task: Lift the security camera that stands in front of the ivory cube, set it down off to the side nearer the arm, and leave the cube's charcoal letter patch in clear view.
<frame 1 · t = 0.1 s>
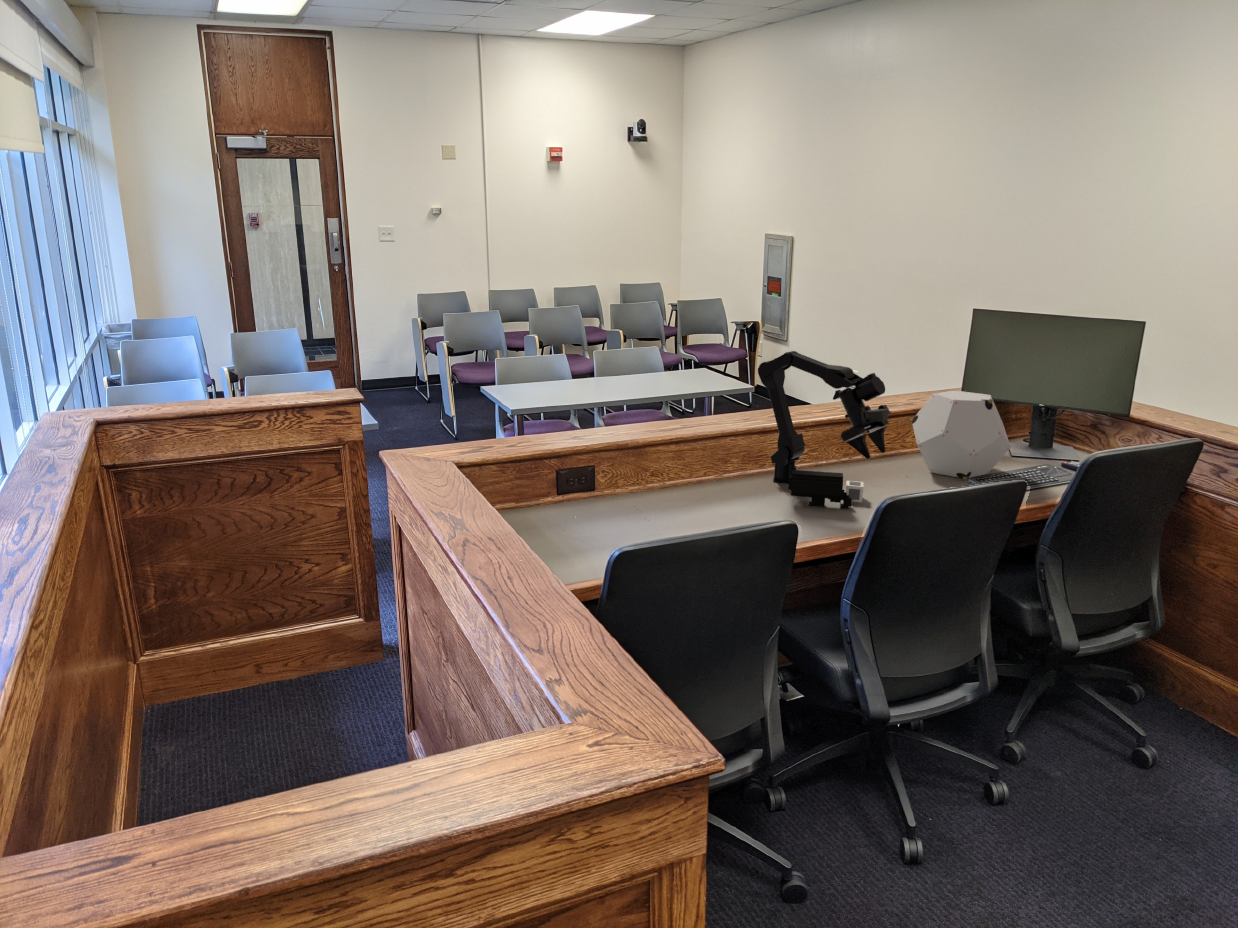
hand: (876, 455, 259), 15 cm above the table, tool tilted 30°, fingers open, 9 cm apart
geometric sculpture: (955, 471, 295), on the table
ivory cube: (853, 499, 267), on the table
security camera: (818, 506, 261), on the table
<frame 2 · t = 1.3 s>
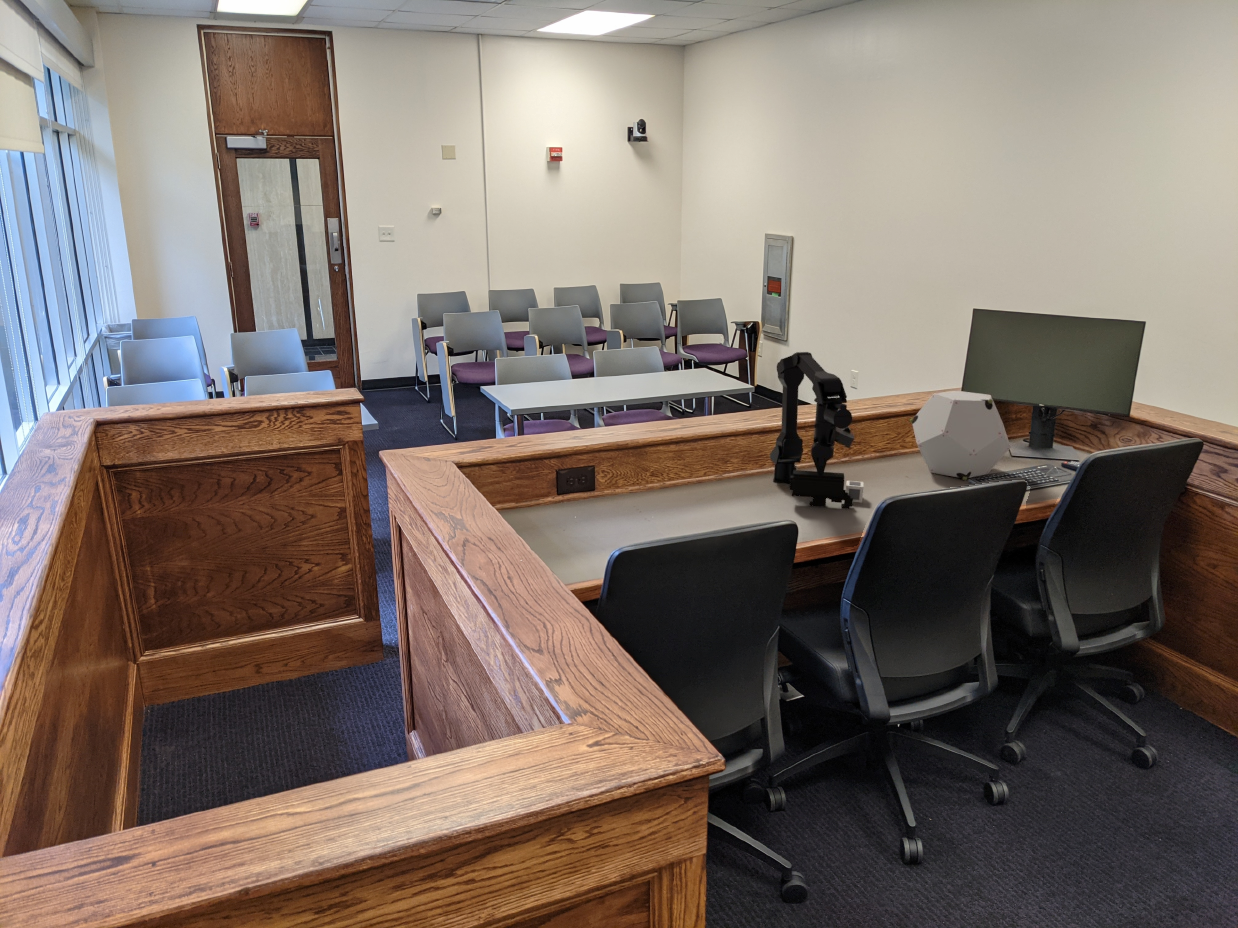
hand: (821, 471, 258), 11 cm above the table, tool pointing down, fingers open, 9 cm apart
nothing on the table moved.
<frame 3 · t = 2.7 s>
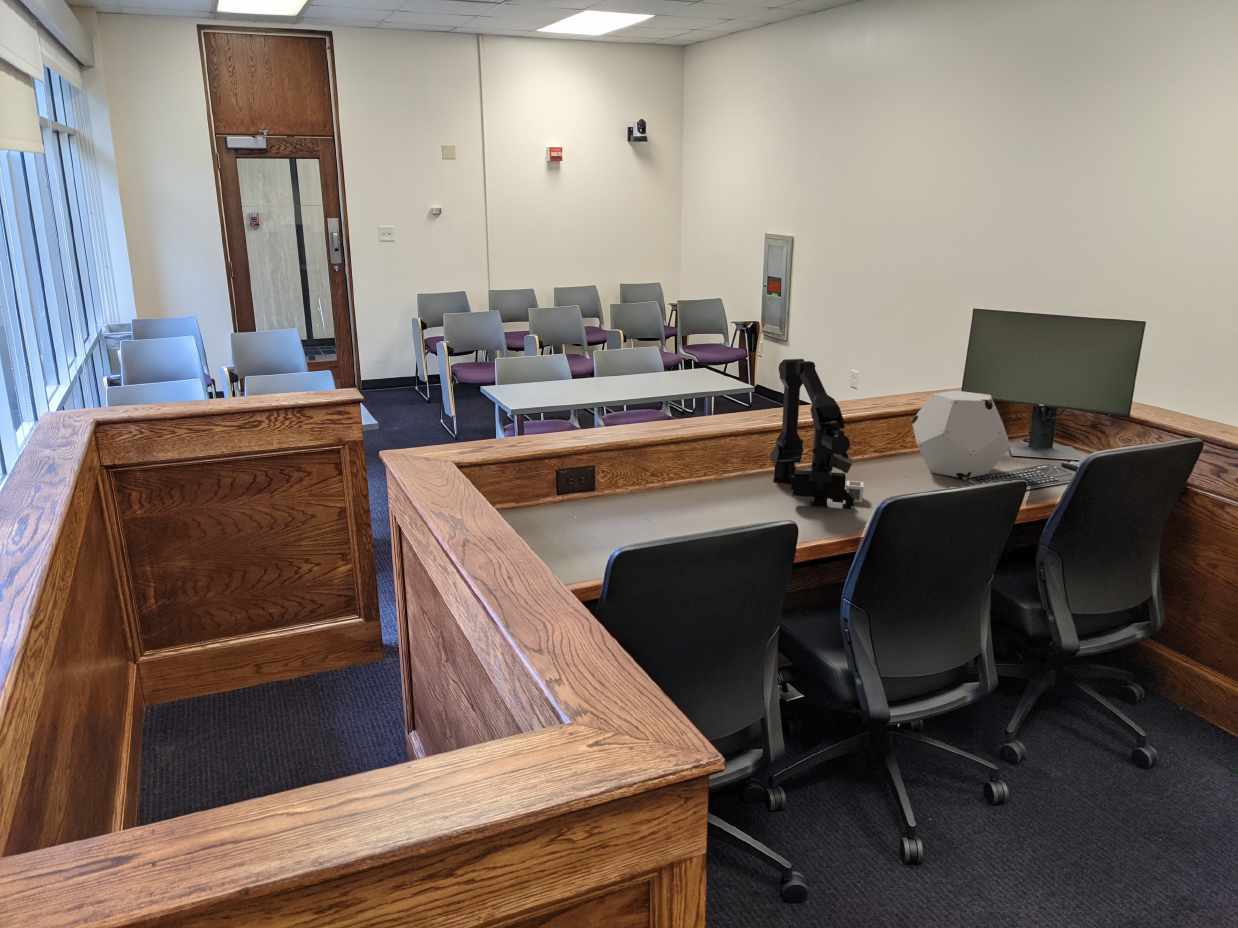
hand: (819, 495, 260), 3 cm above the table, tool pointing down, fingers closed on security camera, 7 cm apart
security camera: (821, 506, 261), on the table, touching gripper
everything else where it was.
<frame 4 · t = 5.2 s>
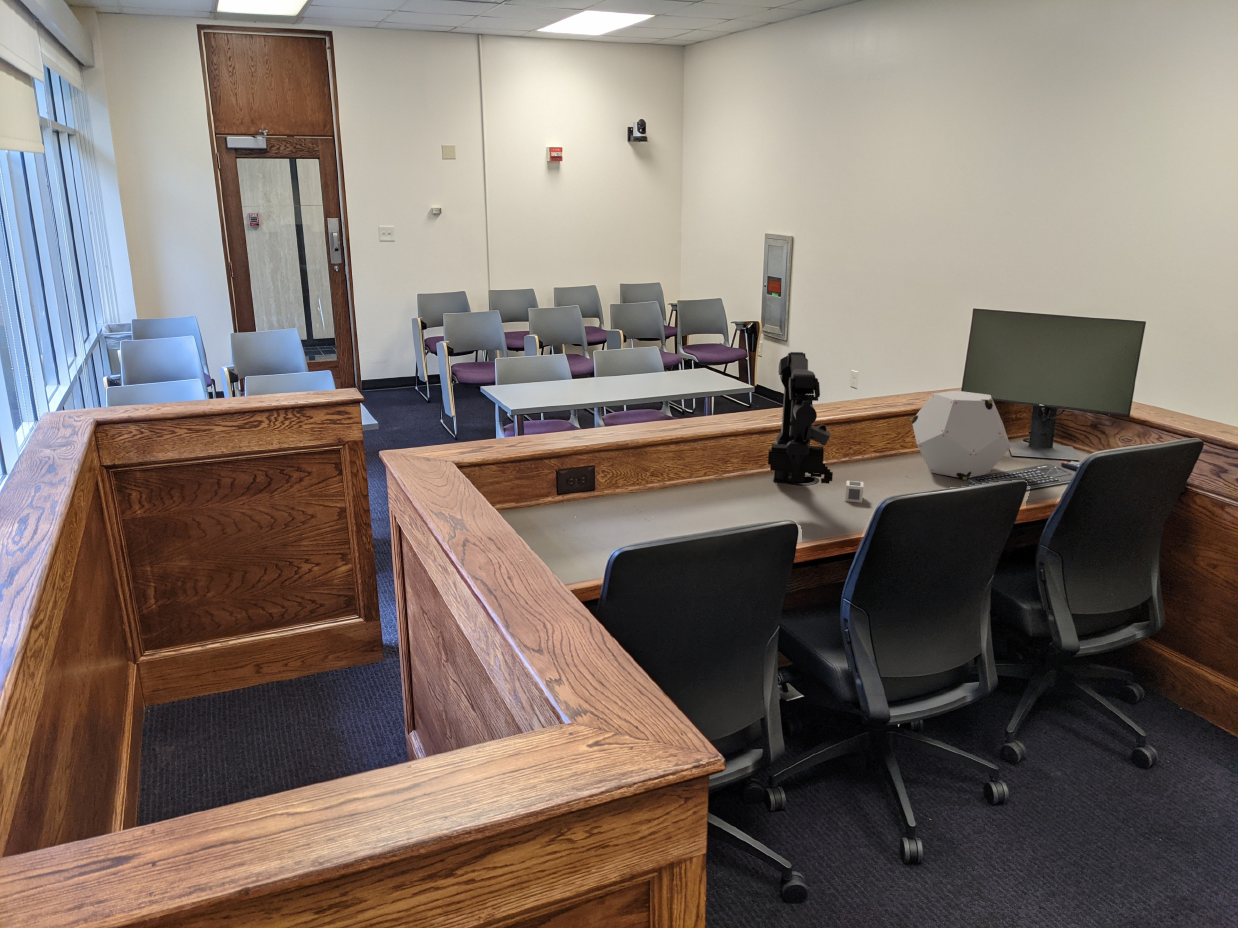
hand: (797, 469, 253), 12 cm above the table, tool pointing down, fingers closed on security camera, 7 cm apart
security camera: (799, 481, 254), point 9 cm above the table, touching gripper
everything else where it was.
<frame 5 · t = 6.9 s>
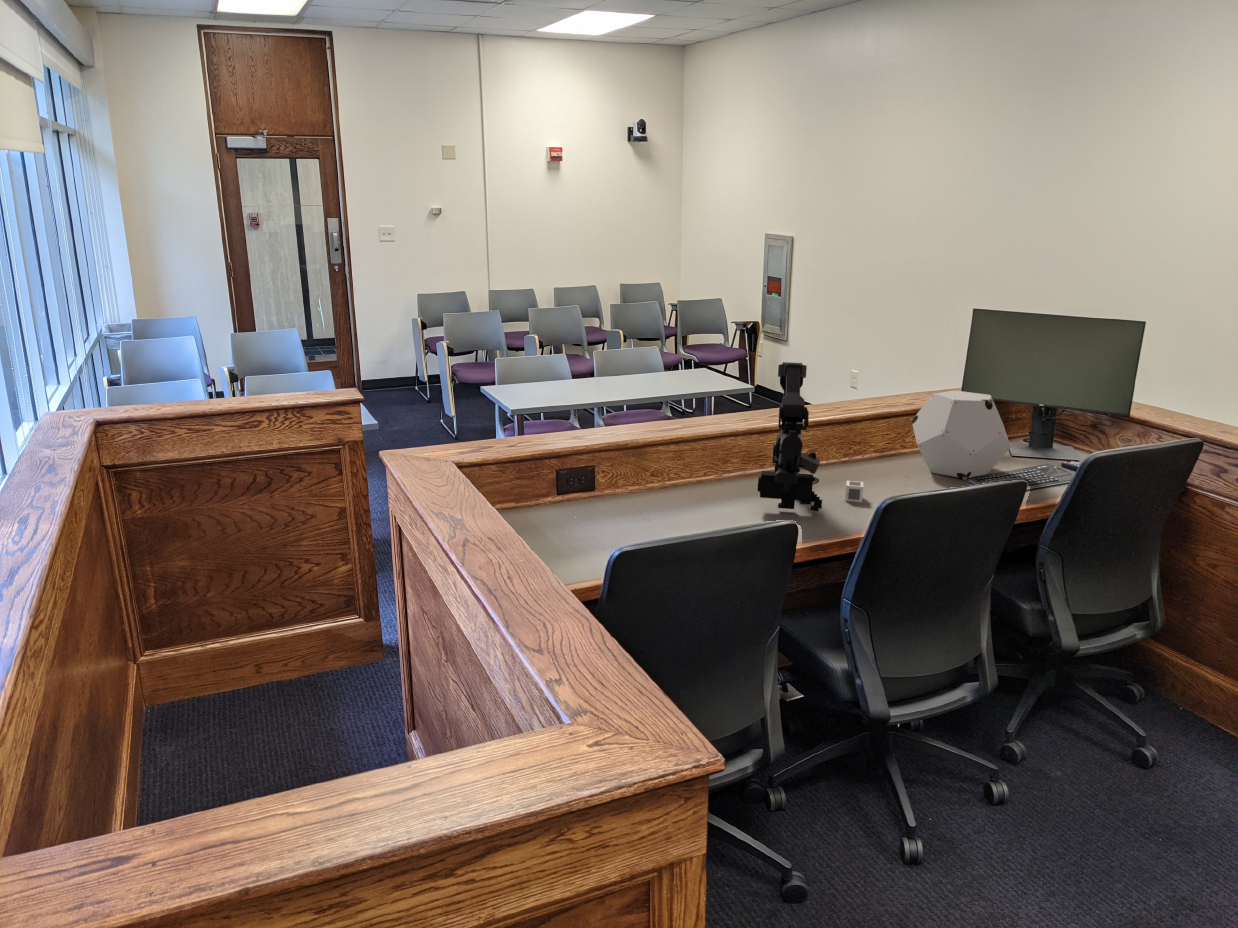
hand: (786, 497, 254), 4 cm above the table, tool pointing down, fingers closed on security camera, 7 cm apart
security camera: (788, 508, 255), point 1 cm above the table, touching gripper
everything else where it was.
when the fingers open (4 cm above the table, at t = 7.8 s): security camera drops 1 cm, on the table.
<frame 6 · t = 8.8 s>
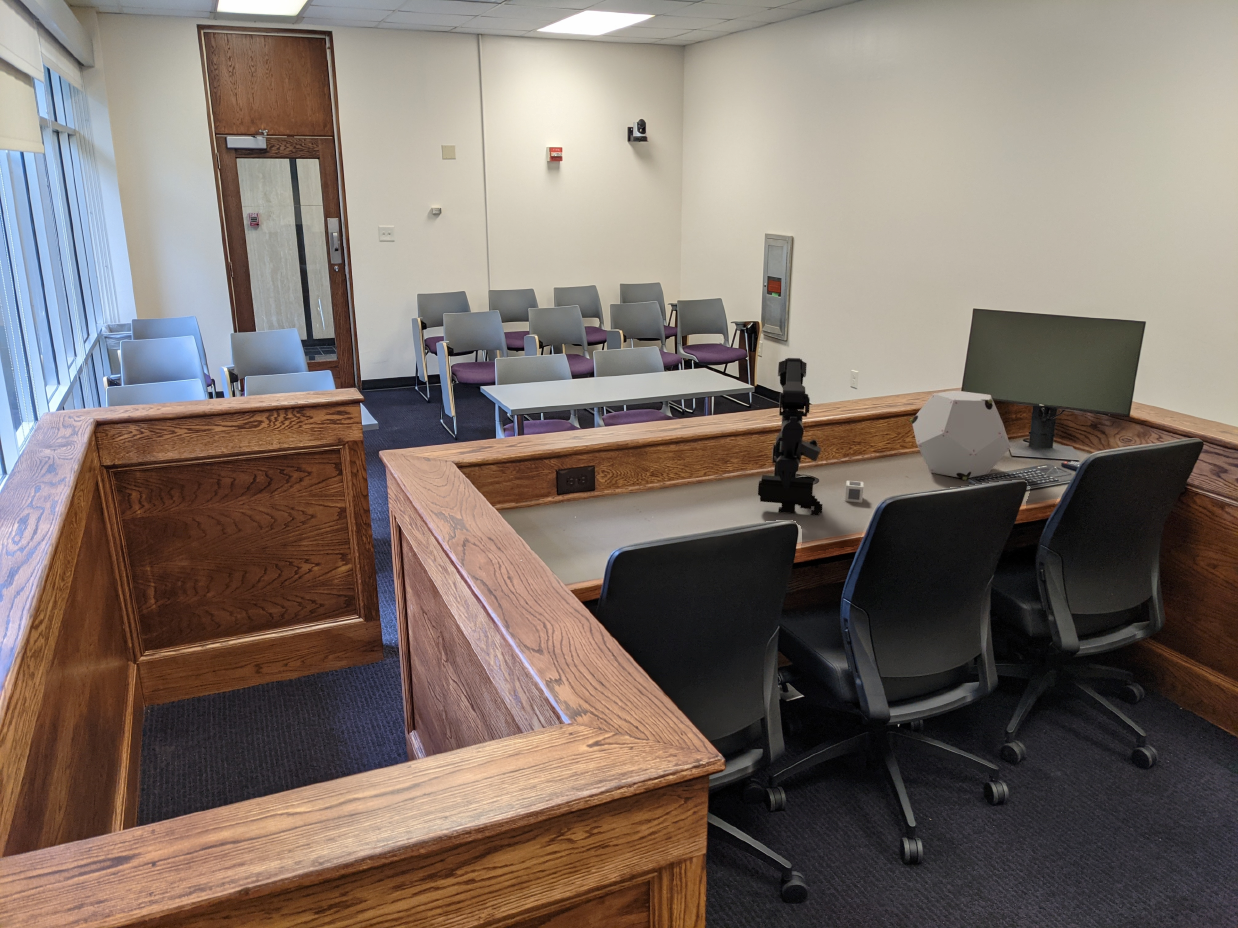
hand: (787, 484, 253), 8 cm above the table, tool pointing down, fingers open, 9 cm apart
security camera: (789, 512, 256), on the table
everything else where it was.
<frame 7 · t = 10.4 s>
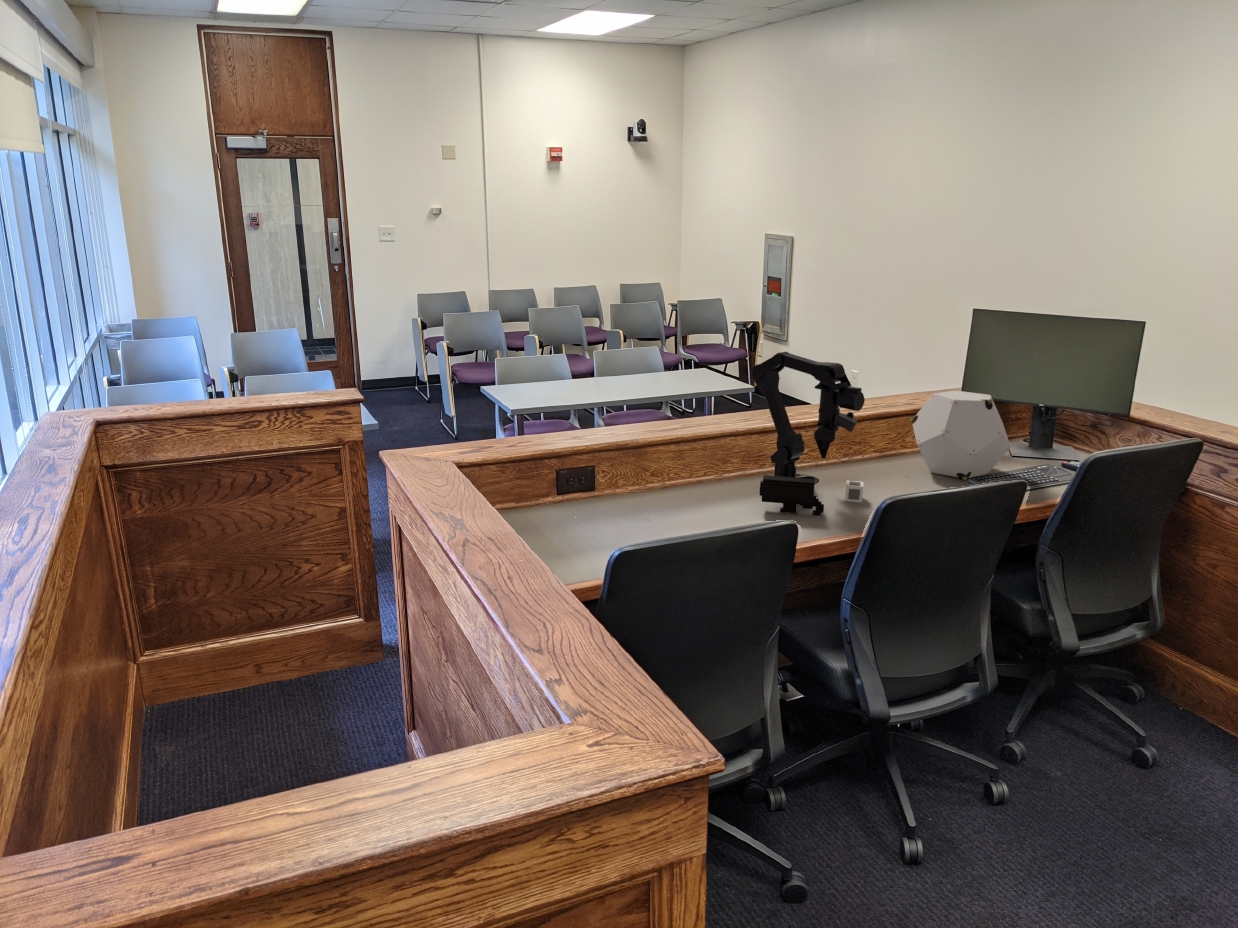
hand: (825, 454, 270), 12 cm above the table, tool pointing down, fingers open, 9 cm apart
nothing on the table moved.
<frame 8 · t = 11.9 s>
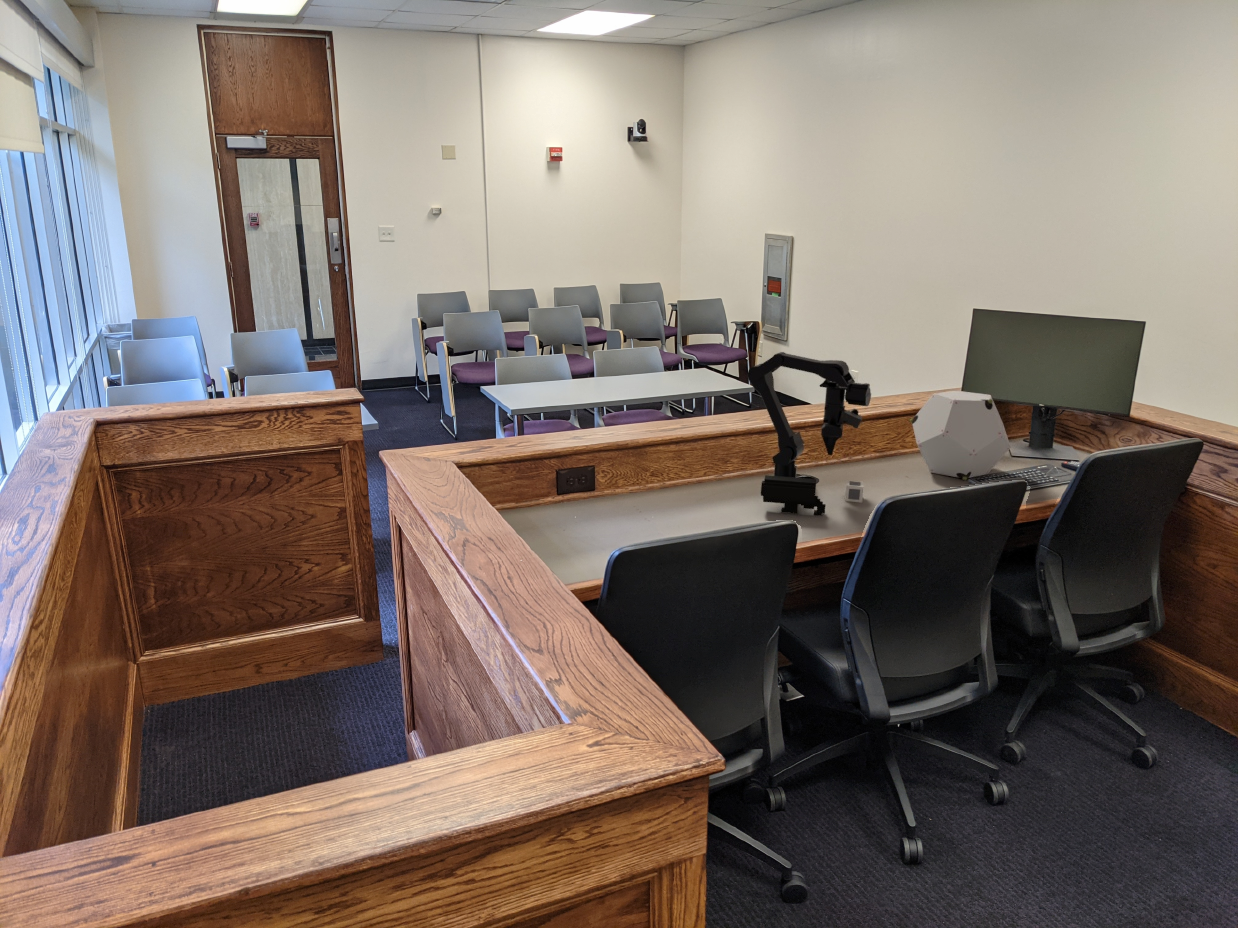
hand: (830, 451, 273), 12 cm above the table, tool pointing down, fingers open, 9 cm apart
nothing on the table moved.
at the end: security camera moved 10.6 cm from its start; security camera tilted 0°; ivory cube moved 0.1 cm from its start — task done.
